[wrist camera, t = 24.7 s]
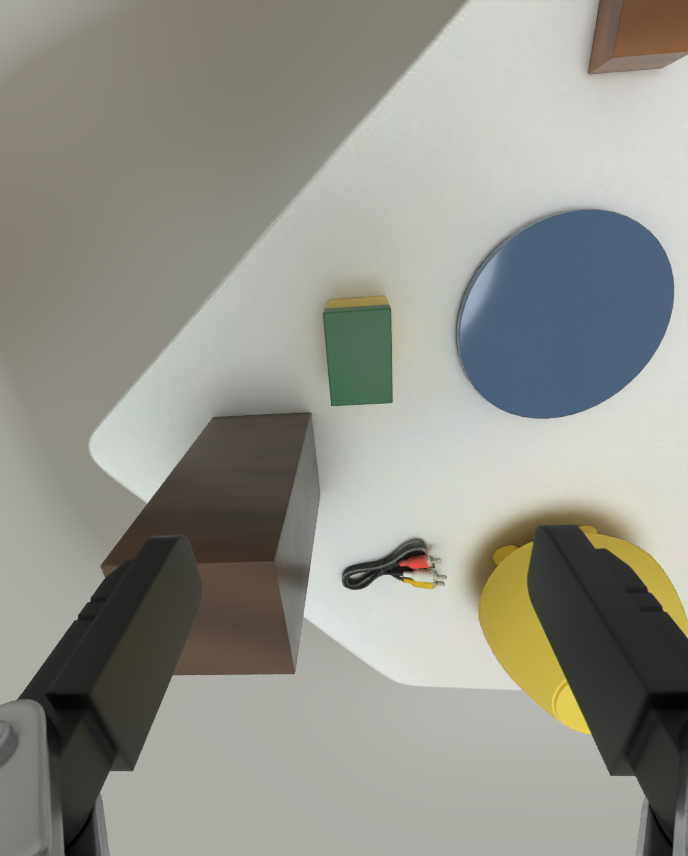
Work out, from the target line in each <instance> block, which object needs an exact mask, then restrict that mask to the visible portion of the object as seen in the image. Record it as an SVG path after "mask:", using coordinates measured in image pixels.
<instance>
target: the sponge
mask: <svg viewBox="0 0 688 856" xmlns="http://www.w3.org/2000/svg"><path fill="white" fill-rule="evenodd" d="M323 319H324V330H325V341H326V352H327V364H328V375H329V386H330V398H331V406H343V405H363V404H383V403H392V402H393V395H392V331H391V308H390V306H389V303H388V301H387V298H386V296H373V297H358V298H343V299H329V301H328V303H327V306H326V308H325V310H324V313H323Z"/></svg>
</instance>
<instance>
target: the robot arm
mask: <svg viewBox="0 0 688 856" xmlns="http://www.w3.org/2000/svg"><path fill="white" fill-rule="evenodd" d="M527 588H528V593H529V598H530V601H531V604H532V606H533V608H534V610H535V613H536V615H537V617H538V619H539V621H540V623H541V626H542V628H543V630H544V632H545V634H546V637H547V639H548V641H549V643H550V645H551V647H552V650H553V652H554V654H555V656H556V658H557V660H558V663H559V665H560V667H561V669H562V671H563V673H564V676H565V678H566V680H567V682H568V684H569V687H570V689H571V691H572V693H573V695H574V697H575V700H576V702H577V704H578V706H579V708H580V710H581V713H582V715H583V717H584V719H585V721H586V723H587V726H588V728H589V730H590V732H591V734H592V736H593V739H594V741H595V743H596V745H597V747H598V750H599V752H600V754H601V756H602V758H603V760H604V762H605V765H606V767H607V769H608V771H609V773H610V775H611V776H636V778H637V780H638V782H639V784H640V786H641V788H642V790H643V792H644V794H645V798H644V801H643V804H642V810H641V818H640V827H639V834H638V842H637V850H636V856H688V638H687V636H686V635H685V634H684V633H683V631H682V630H681V629H680V628H679V626H678V625H677V624H676V623H675V621H674V620H673V619H672V618H671V616H670V615H669V614H668V613H667V612H664V611H663V606H662V605H661V604H660V603H659V601H658V600H657V599H656V598H655V596H654V595H653V594H652V593H649V592H648V588H647V586H646V585H645V584H644V583H643V581H642V580H641V579H640V578H639V577H638V575H637V574H636V573H635V572H634V570H633V569H632V568H631V567H630V566H629V565H628V564H626V563H625V562H624V561H622V560H621V559H620V558H618V557H617V556H615V555H614V554H613V553H611V552H610V551H609V550H607V549H606V548H598V549H595V548H594V546H593V545H592V543H591V542H590V541H589V539H588V538H587V537H586V535H585V534H584V533H583V531H582V530H581V529H580V528H579V527H578V526H576V525H546V526H538V527H537V529H536V531H535V536H534V541H533V546H532V552H531V557H530V563H529V568H528V573H527ZM202 596H203V585H202V580H201V577H200V573H199V570H198V567H197V563H196V560H195V557H194V554H193V550H192V547H191V544H190V541H189V539H188V537H187V536H185V535H171V536H152V537H150V538H149V539H148V540H147V541H146V543H145V544H144V546H143V547H142V549H141V550H140V552H139V553H138V554H137V556H136V557H135V559H133V560H126V561H125V562H124V563H122V564H121V565H120V566H119V567H118V568H116V569H115V570H114V571H113V572H111V573H110V574H109V575H108V576H107V577H106V578H105V579H104V580H103V582H102V583H101V584H100V586H99V587H98V589H97V590H96V592H95V593H94V594H93V596H92V597H91V602H88V603H87V604H86V605H85V607H84V608H83V609H82V611H81V612H80V614H79V615H78V620H76V621H74V622H73V623H72V625H71V626H70V628H69V629H68V630H67V632H66V633H65V635H64V636H63V637H62V639H61V640H60V641H59V643H58V644H57V646H56V647H55V648H54V650H53V651H52V653H51V654H50V655H49V657H48V658H47V660H46V661H45V662H44V664H43V665H42V667H41V668H40V669H39V671H38V672H37V673H36V675H35V676H34V678H33V679H32V680H31V682H30V683H29V685H28V686H27V687H26V689H25V690H24V692H23V693H22V694H21V695H20V697H19V698H18V699H17V700H15V701H11V702H8V703H5V704H2V705H0V856H110V854H109V846H108V840H107V831H106V824H105V816H104V809H103V801H102V797H101V794H100V791H101V789H102V786H103V784H104V782H105V780H106V778H107V776H108V773H109V771H133V770H134V767H135V765H136V762H137V760H138V757H139V755H140V752H141V750H142V748H143V745H144V743H145V741H146V738H147V735H148V733H149V731H150V728H151V726H152V723H153V721H154V719H155V716H156V714H157V711H158V709H159V707H160V704H161V702H162V699H163V697H164V694H165V692H166V690H167V687H168V685H169V682H170V680H171V677H172V675H173V673H174V670H175V668H176V666H177V663H178V661H179V658H180V656H181V653H182V651H183V649H184V646H185V644H186V641H187V639H188V637H189V634H190V632H191V629H192V627H193V624H194V622H195V620H196V617H197V615H198V612H199V610H200V607H201V603H202Z"/></svg>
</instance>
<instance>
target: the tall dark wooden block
mask: <svg viewBox="0 0 688 856" xmlns="http://www.w3.org/2000/svg"><path fill="white" fill-rule="evenodd" d="M319 500H320V488H319V479H318V470H317V461H316V451H315V442H314V433H313V424H312V415H311V413H297V414H275V415H254V416H232V417H213V418H212V419H211V421H210V422H209V423H208V425H207V426H206V427H205V429H204V430H203V431H202V433H201V434H200V435H199V437H198V438H197V439H196V441H195V442H194V443H193V444H192V446H191V447H190V448H189V450H188V451H187V452H186V454H185V455H184V456H183V458H182V459H181V460H180V462H179V463H178V464H177V466H176V467H175V468H174V469H173V471H172V472H171V473H170V475H169V476H168V477H167V479H166V480H165V481H164V483H163V484H162V485H161V487H160V488H159V489H158V491H157V492H156V493H155V494H154V496H153V497H152V498H151V500H150V501H149V502H148V504H147V505H146V506H145V508H144V509H143V510H142V512H141V513H140V514H139V516H138V517H137V518H136V520H135V521H134V522H133V523H132V525H131V526H130V527H129V529H128V530H127V531H126V533H125V534H124V535H123V537H122V538H121V539H120V541H119V542H118V543H117V545H116V546H115V547H114V548H113V550H112V551H111V553H110V554H109V555H108V557H107V558H106V559H105V560H104V562H103V563H102V565H101V569H102V571H103V574H104V576H105V578H106V577H107V576H108V575H109V574H110V573H111V572H113V571H114V570H115V569H116V568H118V567H119V566H120V565H121V564H122V563H124V562H125V561H126V560H133V559H135V557H136V556H137V554H138V553H139V552H140V550H141V549H142V547H143V546H144V544H145V543H146V541H147V540H148V539H149V538H150V537H152V536H171V535H185V536H187V537H188V539H189V541H190V544H191V547H192V550H193V554H194V557H195V560H196V563H197V567H198V570H199V573H200V577H201V580H202V585H203V596H202V603H201V607H200V610H199V612H198V615H197V617H196V620H195V622H194V624H193V627H192V629H191V632H190V634H189V637H188V639H187V641H186V644H185V646H184V649H183V651H182V653H181V656H180V658H179V661H178V663H177V666H176V668H175V670H174V673H173V675H247V674H248V675H249V674H250V675H252V674H295V670H296V664H297V657H298V650H299V643H300V636H301V628H302V621H303V614H304V607H305V600H306V593H307V586H308V579H309V571H310V564H311V557H312V550H313V543H314V536H315V529H316V522H317V514H318V507H319Z"/></svg>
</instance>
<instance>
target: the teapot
mask: <svg viewBox="0 0 688 856" xmlns="http://www.w3.org/2000/svg"><path fill="white" fill-rule="evenodd" d="M579 528H580V529H581V530H582V531H583V533H584V534H585V535H586V537H587V538H588V539H589V541H590V542H591V543H592V545H593V546H594V548H595V549H598V548H606V549H607V550H609V551H610V552H611V553H613V554H614V555H615V556H617V557H618V558H620V559H621V560H622V561H624V562H625V563H626V564H628V565H629V566H630V567H631V568H632V569H633V570H634V572H635V573H636V574H637V575H638V577H639V578H640V579H641V580H642V581H643V583H644V584H645V585H646V586H647V588H648V592H649V593H652V594H653V595H654V596H655V598H656V599H657V600H658V601H659V603H660V604H661V605H662V606H663V611H664V612H667V613H668V614H669V615H670V616H671V618H672V619H673V620H674V621H675V623H676V624H677V625H678V626H679V628H680V629H681V630H682V631H683V633H684V634H685V635H686V636H687V638H688V621H687V617H686V614H685V611H684V608H683V606H682V603H681V601H680V598H679V596H678V594H677V592H676V590H675V588H674V586H673V584H672V583H671V581H670V579H669V578H668V576H667V575H666V573H665V572H664V570H663V569H662V568H661V566H660V565H659V564H658V563H657V562H656V560H655V559H654V558H653V557H652V556H651V555H650V554H648V553H647V552H645V551H644V550H643V549H641V548H639V547H637V546H636V545H634V544H631V543H629V542H627V541H625V540H622V539H619V538H616V537H611V536H606V535H600V534H598V532H597V530H596V529H595V528H594V527H592V526H587V525H584V526H579ZM532 546H533V541H532V542H530V543H527V544H525V545H523V546H522V547H520V548H519V547H517V546H513V545H507V546H503V547H501V548H499V549H498V550H497V551H496V552H495V553H494V555H493V561H494V562H495V564H496V565H497V567H496V569H495V570H494V572H493V573H492V574H491V576H490V577H489V579H488V580H487V582H486V584H485V586H484V588H483V590H482V593H481V596H480V601H479V609H478V613H479V621H480V625H481V628H482V631H483V634H484V636H485V638H486V640H487V642H488V644H489V646H490V648H491V650H492V652H493V654H494V655H495V657H496V658H497V660H498V662H499V663H500V664H501V666H502V667H503V668H504V670H505V671H506V672H507V673H508V675H509V676H510V677H511V678H512V680H513V681H514V682H515V683H516V684H517V685H518V686H519V687H520V688H521V689H522V690H523V691H524V692H525V693H526V694H528V695H529V696H530V697H531V698H532V699H533V700H534V701H535V702H536V703H538V704H539V705H540V706H541V707H542V708H543V709H544V710H546V711H547V712H548V713H549V714H550V715H552V716H553V717H554V718H556V719H557V720H559V721H560V722H561V723H562V724H564V725H565V726H567V727H569V728H571V729H573V730H576V731H578V732H581V733H586V734H590V735H592V734H591V732H590V730H589V728H588V726H587V723H586V721H585V719H584V717H583V715H582V713H581V710H580V708H579V706H578V704H577V702H576V700H575V697H574V695H573V693H572V691H571V689H570V687H569V684H568V682H567V680H566V678H565V676H564V673H563V671H562V669H561V667H560V665H559V663H558V660H557V658H556V656H555V654H554V652H553V650H552V647H551V645H550V643H549V641H548V639H547V637H546V634H545V632H544V630H543V628H542V626H541V623H540V621H539V619H538V617H537V615H536V613H535V610H534V608H533V606H532V604H531V601H530V598H529V593H528V588H527V573H528V568H529V563H530V557H531V552H532Z"/></svg>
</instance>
